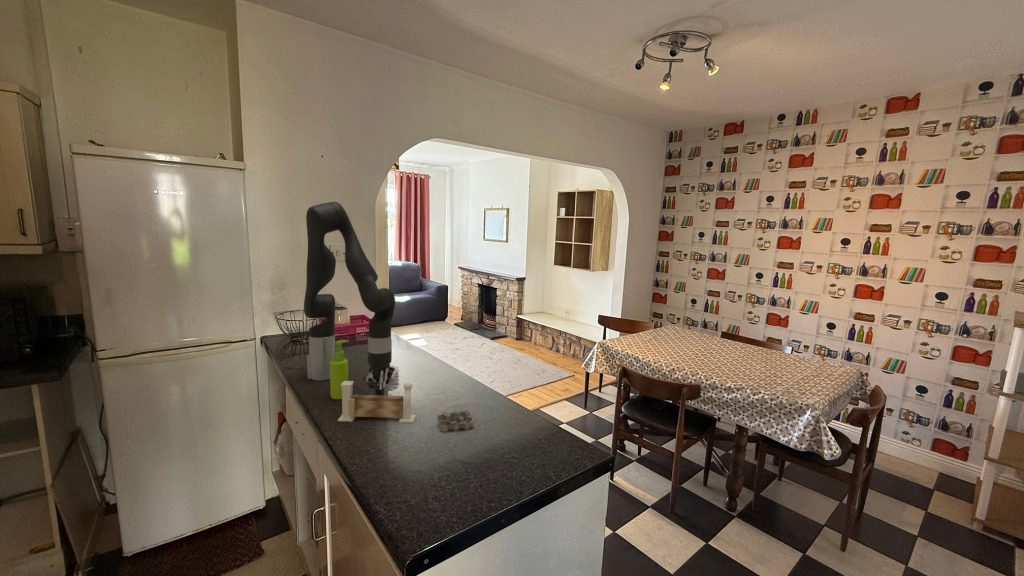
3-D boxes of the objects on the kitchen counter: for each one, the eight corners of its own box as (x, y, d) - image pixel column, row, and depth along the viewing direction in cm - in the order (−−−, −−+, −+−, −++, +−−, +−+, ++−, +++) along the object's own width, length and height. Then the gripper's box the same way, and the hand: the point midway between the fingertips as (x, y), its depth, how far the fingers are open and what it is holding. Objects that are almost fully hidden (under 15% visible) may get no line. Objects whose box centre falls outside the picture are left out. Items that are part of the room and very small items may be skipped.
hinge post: (399, 422, 127) (399, 384, 125) (402, 416, 131) (402, 379, 129) (413, 423, 127) (413, 385, 125) (415, 416, 131) (416, 379, 129)
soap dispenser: (354, 393, 146) (353, 340, 143) (338, 400, 140) (338, 345, 137) (342, 390, 148) (341, 337, 145) (326, 396, 142) (325, 342, 139)
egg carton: (438, 433, 122) (438, 421, 121) (436, 421, 129) (436, 409, 129) (473, 430, 125) (473, 418, 124) (469, 419, 132) (469, 407, 131)
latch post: (337, 421, 125) (337, 385, 124) (343, 414, 130) (342, 380, 128) (353, 421, 126) (353, 385, 124) (358, 415, 130) (358, 380, 128)
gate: (352, 416, 127) (352, 397, 126) (354, 413, 129) (354, 394, 128) (402, 417, 128) (402, 398, 127) (403, 415, 130) (403, 395, 129)
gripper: (375, 356, 125) (375, 409, 128) (401, 345, 137) (401, 393, 140) (356, 352, 128) (356, 404, 130) (384, 342, 140) (383, 389, 142)
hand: (379, 398), depth 135 cm, fingers closed
